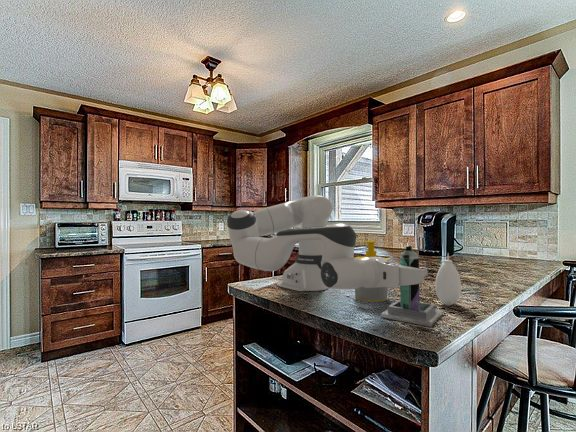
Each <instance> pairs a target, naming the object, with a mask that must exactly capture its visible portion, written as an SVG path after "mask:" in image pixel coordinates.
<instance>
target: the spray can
mask: <svg viewBox="0 0 576 432" xmlns="http://www.w3.org/2000/svg"><path fill="white" fill-rule="evenodd" d="M399 264H400V265H404V266H409V267H414V268H419V269H420V257H419V254H418V253H417V252H416V251H415V250H413V247H412V246H410V245H409V246H405V249H404V250H403V252H401V253H400V254H399ZM399 287H400V290H399V291H400V292H399V294H400V296H399V299H400V301H401V308H407V309H412V310H418V311H420V301H421V300H420V299H421V298H420V297H421V295H420V284H414V285H407V286H399Z"/></svg>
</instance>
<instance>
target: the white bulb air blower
mask: <svg viewBox="0 0 576 432" xmlns="http://www.w3.org/2000/svg"><path fill="white" fill-rule="evenodd" d="M446 257H447V258H446V259H444V260H443V263H442V264H441V265H440V267H439V269H438V271H437V274H436V276H435V277H436V278H435V285H434V288H435V293H436V296H437V298H438V300H439V301H440V302H441V303H442V304H444V305H445V306H452V305H454V304H455V303H456V302H458V301H459V299H460V296H461V293H462V282H461V277H460V274H459V272H458V270H457V267H456V266H455V264H454V263H453V260H451V259H450V254H449V252H447V256H446Z"/></svg>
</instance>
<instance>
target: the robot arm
mask: <svg viewBox="0 0 576 432" xmlns="http://www.w3.org/2000/svg"><path fill="white" fill-rule="evenodd" d="M332 213H333V204H332V201H331V200H329V198H327V197H325V196H323V195H319V194H315V195H309V196H304V197H301V198H297V199H293V200H290V201H286V202H283V203H282V202H281V203H279V204H276V205H271V206H267V207H263V208H261V209H257V210H255V211H251V210H250V209H249V210H248V209H237V210H234V211H232V212H231V213H230V214H229V215H228V216H227V221H226V222H227V223H226V225H227V228H228V235H229V240H230V243H231V247H232V249H233V250H232V253H233V258H234V259H235V261H236V262H237V263H238V264H240V265H243V266H246V267H249V268H251V269H255V270H261V271H264V272H276V271H278V270H280V269H281V268H283V267H284V266H285V265H286V264H287V262H288V261H289V259H290V258H291V255H292V252H293V250H294V248H295V247H296V244H297V243H298V254H296V255H293V259H295V261H294V263H293V264H291V265H290V266H288V268H287V269H285V270H284V271H283V273H282V276H281V277H282V278H281V279H282V280H281V281H278V282H277V283H276V286H277V287H281V288H284V289H288V290H291V291H292V290H293V291H297V292H309V291H310V292H318V291H324V290H328V289H333V290H347V291H348V290H355V289H358V288H360V287H364V288H381V287H385V288H387V289H398V288H399V287H400V286H407V285H414V284H419V285H420V284H423V283H424V282H425V277H427V276H428V274H429V271H428V269H425V268H420V267H419V268H414V267H409V266H404V265H400V263H399V264H398V263H394V262H391V261H390V260H389V261H387V260H385V259H384V258H385V257H383V256H376V257H366V256H363V257H364V258H361V259H356V258H354V257H355V246H356V242H357V234H356V231H355V230H354V229H353V227H352V226H351V225H349V224H346V223H333V224H329V225H328V222H329V218H330V216H331V215H332ZM297 226H298V228H297ZM299 226H301V227H299ZM295 227H296V228H295ZM273 234H275V236H272V237H266V236H269V235H273ZM382 257H383V258H382Z"/></svg>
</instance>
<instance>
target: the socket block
mask: <svg viewBox="0 0 576 432" xmlns="http://www.w3.org/2000/svg"><path fill="white" fill-rule="evenodd" d="M436 306H437V305H436V304H435V303H429V302H428V303H427V302H423V301H422V302H420V311H418V310H412V309H407V308H401V301H400V298H399V299H397V300H396V301H394V302H392V303H391V304H389V305H388V306H387V309H385V310H384V311H382V312H381V313H380V317H381V318H384V319H389V320H395V321H399V322H403V323H404V322H405V323H408V324H409V323H410V324H414V325H419V326H420V325H421V326H425V327H432V326H433V325H434V324H435V323H436V321H438V320H439V319H440V318H441V317H442V315H443V310H439V309H437V307H436Z"/></svg>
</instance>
